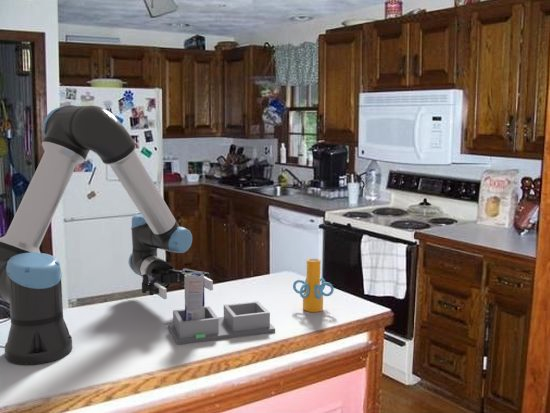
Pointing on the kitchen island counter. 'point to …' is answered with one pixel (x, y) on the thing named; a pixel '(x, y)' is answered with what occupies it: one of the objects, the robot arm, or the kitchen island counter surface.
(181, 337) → the double square planter tray
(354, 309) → the kitchen island counter surface
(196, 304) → the beverage can
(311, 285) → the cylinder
